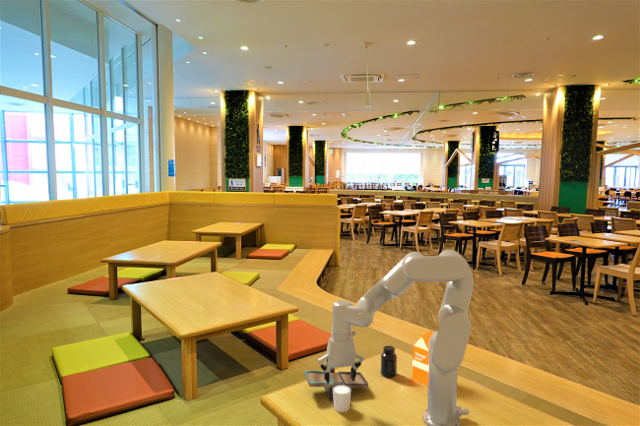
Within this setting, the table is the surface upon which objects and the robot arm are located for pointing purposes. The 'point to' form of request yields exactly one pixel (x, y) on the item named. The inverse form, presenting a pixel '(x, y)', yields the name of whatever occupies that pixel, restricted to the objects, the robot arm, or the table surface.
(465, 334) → the robot arm
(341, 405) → the cup of milk
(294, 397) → the table surface
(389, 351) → the supplement bottle
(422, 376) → the orange juice
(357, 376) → the balance beam board
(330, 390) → the pivot stand
